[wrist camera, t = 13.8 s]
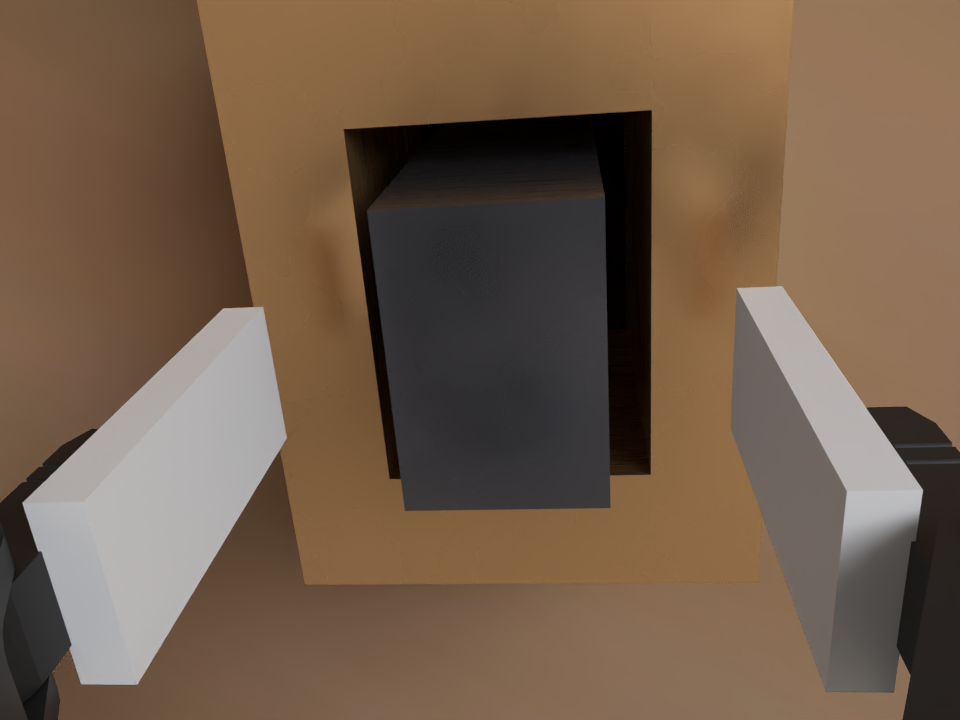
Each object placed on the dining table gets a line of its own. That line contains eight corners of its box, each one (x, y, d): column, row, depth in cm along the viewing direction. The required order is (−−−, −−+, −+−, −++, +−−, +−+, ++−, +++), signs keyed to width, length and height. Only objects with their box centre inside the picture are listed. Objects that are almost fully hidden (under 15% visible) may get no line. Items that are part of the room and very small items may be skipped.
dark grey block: (467, 303, 28) (405, 511, 17) (451, 111, 26) (366, 210, 15) (592, 298, 28) (610, 507, 17) (588, 102, 25) (605, 197, 14)
